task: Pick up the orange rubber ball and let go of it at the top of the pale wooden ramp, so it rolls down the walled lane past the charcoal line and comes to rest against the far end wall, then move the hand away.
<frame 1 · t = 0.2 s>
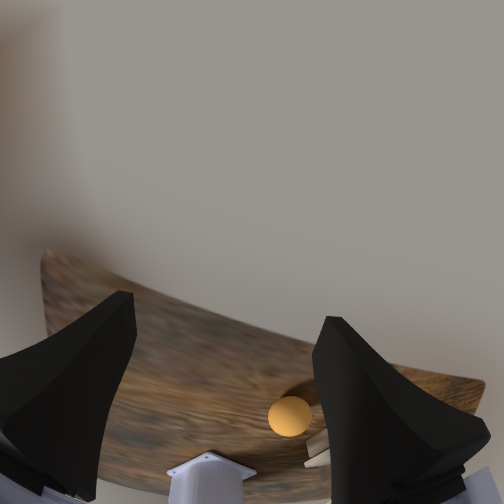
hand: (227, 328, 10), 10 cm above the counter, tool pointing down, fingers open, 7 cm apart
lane: (357, 447, 29), on the counter
ball: (290, 416, 23), point 2 cm above the counter
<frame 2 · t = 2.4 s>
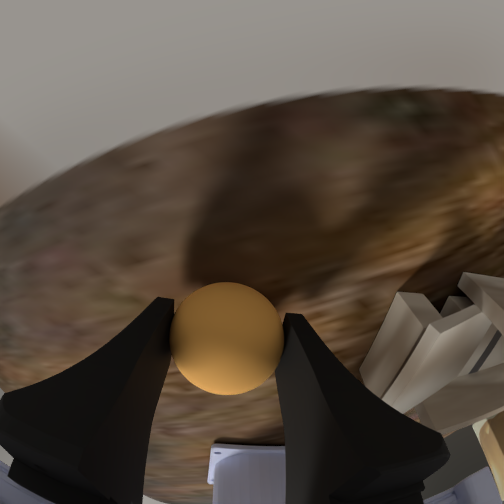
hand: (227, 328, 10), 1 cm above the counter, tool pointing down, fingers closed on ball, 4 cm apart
skincare box: (493, 405, 20), on the counter
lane: (473, 332, 13), on the counter
ball: (226, 338, 10), point 2 cm above the counter, touching gripper
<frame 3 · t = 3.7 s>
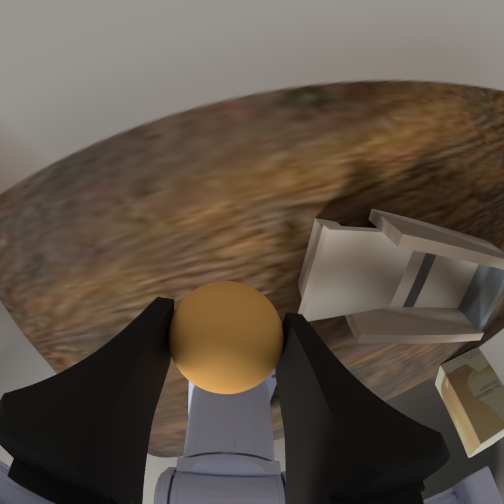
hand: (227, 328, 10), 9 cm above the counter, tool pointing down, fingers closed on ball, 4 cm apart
skincare box: (454, 364, 27), on the counter
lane: (399, 266, 20), on the counter
ball: (225, 337, 10), point 10 cm above the counter, touching gripper
when the fingers open (6 cm above the counter, at t = 4.9 s): ball drops 2 cm, resting on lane.
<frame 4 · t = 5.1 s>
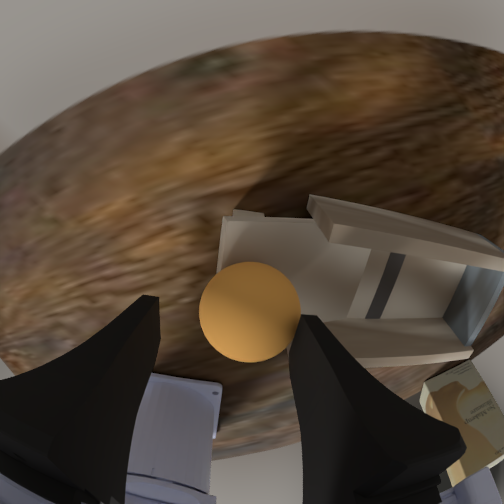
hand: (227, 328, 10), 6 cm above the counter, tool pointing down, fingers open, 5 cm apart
skincare box: (442, 380, 23), on the counter
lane: (357, 268, 17), on the counter
ball: (249, 312, 11), point 5 cm above the counter, tilted 25°, touching gripper, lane
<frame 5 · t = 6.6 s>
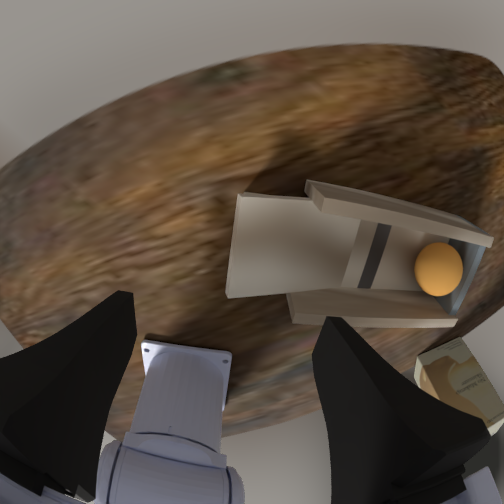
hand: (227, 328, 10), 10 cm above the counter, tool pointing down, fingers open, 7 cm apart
skincare box: (435, 356, 26), on the counter
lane: (348, 243, 20), on the counter
ball: (438, 269, 18), point 3 cm above the counter, tilted 80°, touching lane
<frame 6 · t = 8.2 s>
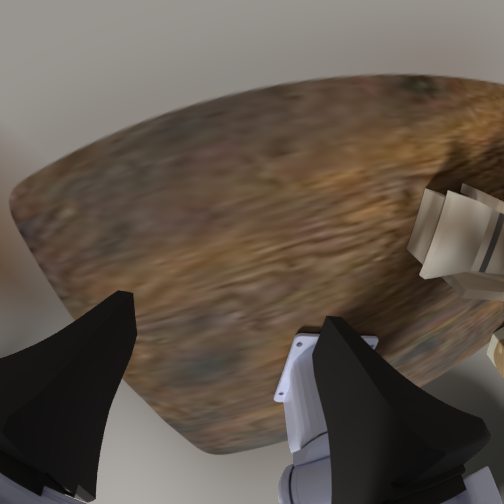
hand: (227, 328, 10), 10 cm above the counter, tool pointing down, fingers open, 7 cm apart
skincare box: (501, 334, 26), on the counter
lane: (476, 235, 20), on the counter
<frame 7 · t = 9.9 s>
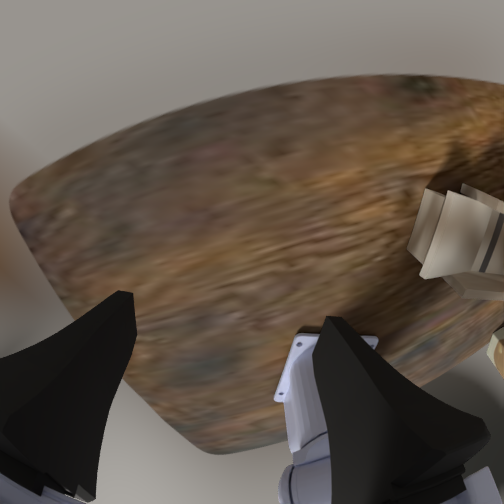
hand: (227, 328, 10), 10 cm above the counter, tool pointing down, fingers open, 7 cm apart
skincare box: (501, 334, 26), on the counter
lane: (476, 235, 20), on the counter
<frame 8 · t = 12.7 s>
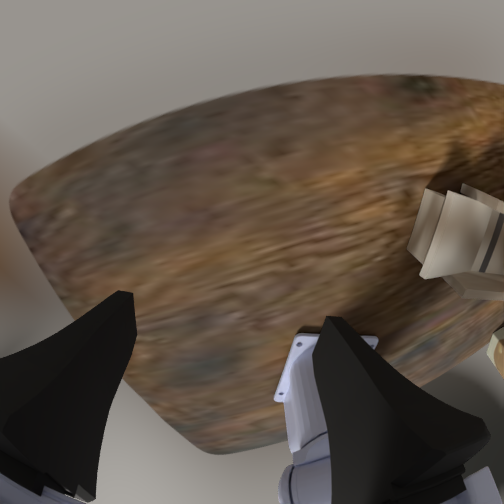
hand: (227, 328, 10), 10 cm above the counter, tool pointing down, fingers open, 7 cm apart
skincare box: (501, 334, 26), on the counter
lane: (476, 235, 20), on the counter
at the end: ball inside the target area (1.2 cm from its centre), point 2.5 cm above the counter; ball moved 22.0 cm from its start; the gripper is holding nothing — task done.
